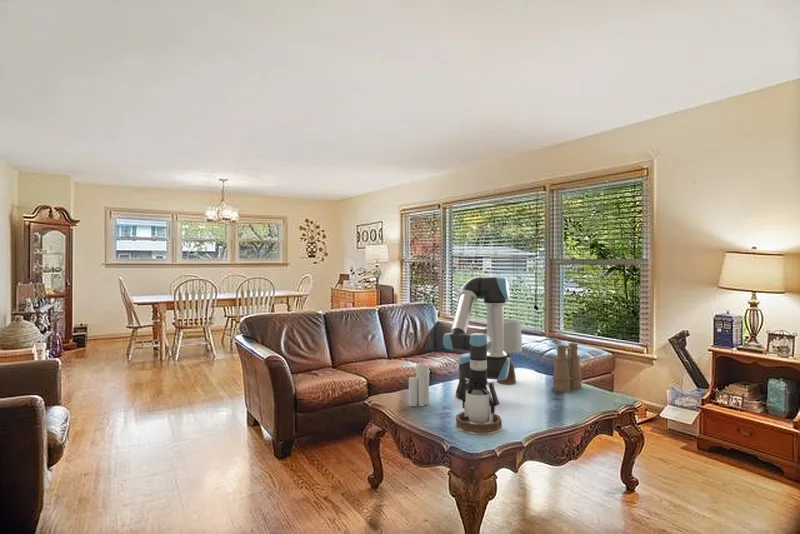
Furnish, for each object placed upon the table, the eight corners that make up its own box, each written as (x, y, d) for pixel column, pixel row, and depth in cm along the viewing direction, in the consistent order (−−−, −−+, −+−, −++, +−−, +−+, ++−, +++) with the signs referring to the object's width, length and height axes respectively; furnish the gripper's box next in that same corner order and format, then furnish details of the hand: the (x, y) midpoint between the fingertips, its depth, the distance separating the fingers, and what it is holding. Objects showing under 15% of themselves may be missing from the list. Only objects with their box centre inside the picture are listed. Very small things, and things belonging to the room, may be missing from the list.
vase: (421, 400, 247) (421, 362, 246) (432, 403, 242) (432, 364, 241) (406, 405, 239) (406, 366, 238) (417, 408, 234) (417, 368, 233)
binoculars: (563, 393, 259) (563, 347, 259) (548, 389, 267) (548, 345, 267) (585, 387, 271) (586, 343, 271) (570, 383, 279) (570, 341, 279)
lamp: (493, 386, 274) (493, 322, 273) (488, 378, 292) (488, 318, 292) (525, 386, 273) (525, 322, 272) (518, 378, 292) (518, 318, 291)
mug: (461, 414, 217) (461, 386, 216) (484, 413, 218) (484, 385, 217) (468, 426, 202) (468, 395, 202) (493, 425, 203) (493, 395, 203)
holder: (447, 428, 206) (447, 419, 206) (467, 415, 222) (467, 407, 222) (491, 437, 195) (491, 428, 195) (508, 423, 212) (508, 415, 211)
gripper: (450, 367, 211) (450, 415, 212) (500, 373, 199) (500, 425, 199) (458, 364, 218) (458, 411, 218) (506, 370, 205) (506, 420, 205)
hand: (478, 418), depth 208 cm, fingers closed on mug, 11 cm apart
